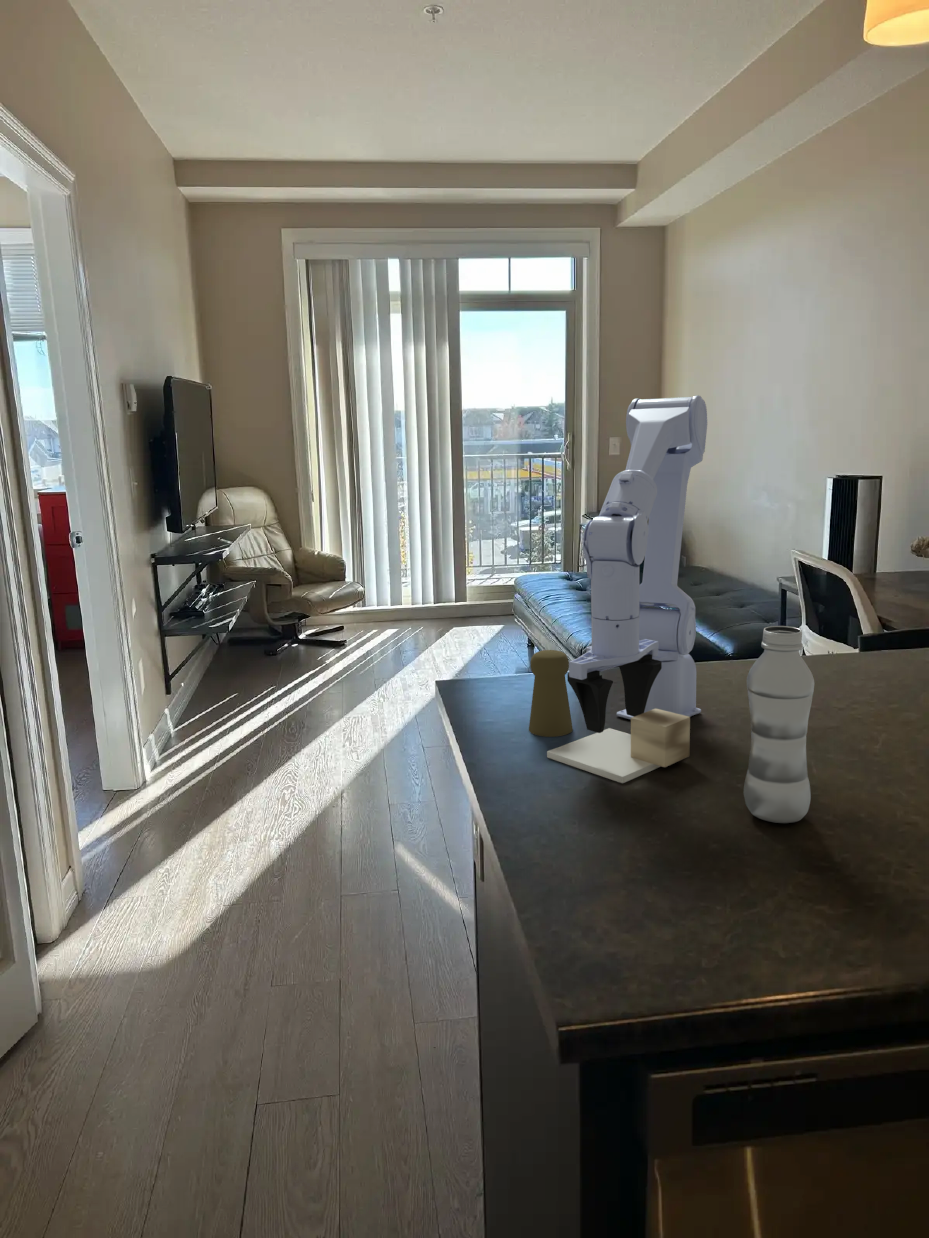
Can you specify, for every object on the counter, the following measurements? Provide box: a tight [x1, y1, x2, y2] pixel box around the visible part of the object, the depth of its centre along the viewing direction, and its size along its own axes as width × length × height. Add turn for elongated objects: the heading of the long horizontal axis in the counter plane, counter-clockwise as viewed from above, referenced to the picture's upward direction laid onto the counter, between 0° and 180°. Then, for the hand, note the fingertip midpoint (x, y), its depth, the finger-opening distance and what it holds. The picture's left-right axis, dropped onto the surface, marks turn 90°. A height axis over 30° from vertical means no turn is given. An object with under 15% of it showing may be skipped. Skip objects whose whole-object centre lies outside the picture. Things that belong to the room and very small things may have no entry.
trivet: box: [546, 727, 662, 784], centre depth 111 cm, size 12×12×1 cm
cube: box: [630, 708, 691, 768], centre depth 108 cm, size 5×5×5 cm
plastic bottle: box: [742, 625, 815, 824], centre depth 91 cm, size 6×7×20 cm
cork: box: [528, 649, 574, 738], centre depth 121 cm, size 6×6×11 cm
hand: (615, 723), depth 110 cm, fingers open, 7 cm apart
